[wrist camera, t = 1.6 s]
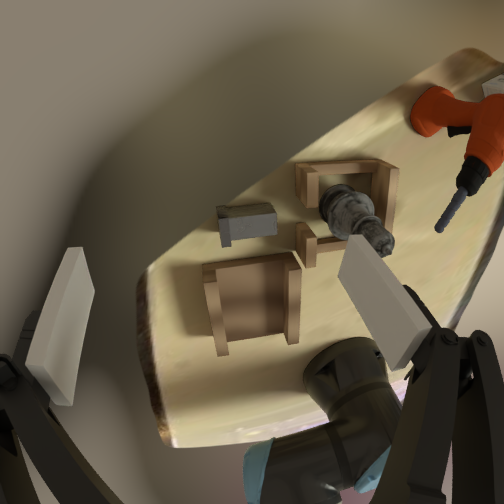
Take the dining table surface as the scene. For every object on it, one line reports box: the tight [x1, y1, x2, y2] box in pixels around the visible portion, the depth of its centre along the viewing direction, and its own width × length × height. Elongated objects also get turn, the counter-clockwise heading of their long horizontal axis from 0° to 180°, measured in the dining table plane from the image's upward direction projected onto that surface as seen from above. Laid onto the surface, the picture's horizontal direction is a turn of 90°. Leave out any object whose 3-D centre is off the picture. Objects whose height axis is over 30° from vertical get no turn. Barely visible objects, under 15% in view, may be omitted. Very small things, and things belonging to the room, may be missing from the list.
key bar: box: [216, 203, 277, 248], centre depth 34 cm, size 3×6×4 cm, turn 93°
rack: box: [202, 252, 302, 357], centre depth 39 cm, size 12×11×4 cm
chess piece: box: [319, 184, 395, 258], centre depth 31 cm, size 6×6×12 cm
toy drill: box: [410, 86, 504, 233], centre depth 27 cm, size 5×19×15 cm, turn 140°
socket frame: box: [295, 160, 399, 268], centre depth 35 cm, size 11×11×4 cm
